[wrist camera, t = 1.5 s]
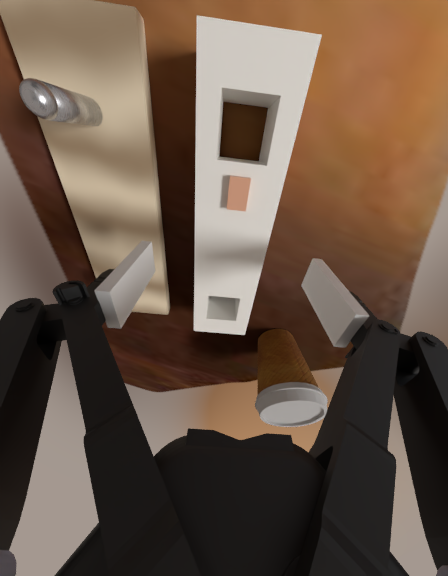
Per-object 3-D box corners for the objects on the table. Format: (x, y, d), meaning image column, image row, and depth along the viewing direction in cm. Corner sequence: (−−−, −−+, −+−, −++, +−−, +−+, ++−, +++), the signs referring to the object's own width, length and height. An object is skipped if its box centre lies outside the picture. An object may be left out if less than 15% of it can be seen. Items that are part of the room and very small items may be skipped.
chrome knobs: (82, 97, 16) (2, 71, 10) (104, 100, 16) (37, 76, 10) (128, 283, 27) (102, 319, 21) (141, 284, 27) (118, 320, 21)
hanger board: (11, -2, 13) (-11, -16, 12) (143, 18, 14) (135, 7, 12) (112, 302, 30) (107, 309, 29) (170, 307, 30) (167, 314, 29)
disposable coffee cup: (268, 361, 39) (281, 432, 29) (238, 338, 35) (241, 412, 25) (312, 341, 35) (344, 417, 25) (284, 313, 31) (309, 390, 21)
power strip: (205, 51, 14) (195, 9, 10) (296, 64, 15) (326, 29, 10) (198, 306, 30) (193, 334, 25) (242, 309, 30) (245, 338, 26)
